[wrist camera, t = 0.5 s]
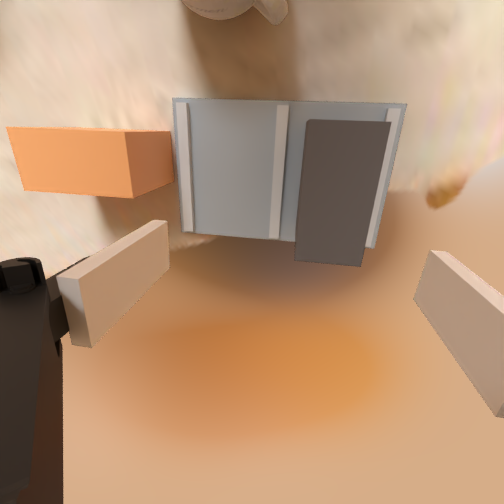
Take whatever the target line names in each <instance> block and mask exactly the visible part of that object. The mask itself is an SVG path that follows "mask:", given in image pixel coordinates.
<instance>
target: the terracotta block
mask: <svg viewBox="0 0 504 504" xmlns="http://www.w3.org/2000/svg"><path fill="white" fill-rule="evenodd" d="M6 129H7V133H8V136H9V139H10V143H11V146H12V150H13V153H14V157H15V160H16V164H17V167H18V170H19V174H20V177H21V181H22V184H23V188H24V190H25V191H38V192H52V193H66V194H79V195H93V196H107V197H120V198H136V197H138V196H140V195H143V194H145V193H148V192H150V191H152V190H155V189H157V188H159V187H162V186H164V185H167V184H169V183H171V182H174V175H173V162H172V149H171V135H170V131H154V130H129V129H105V128H81V127H6Z"/></svg>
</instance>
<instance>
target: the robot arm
mask: <svg viewBox="0 0 504 504" xmlns="http://www.w3.org/2000/svg"><path fill="white" fill-rule="evenodd" d="M169 268H170V257H169V238H168V221H163V220H152V221H150V222H149V223H147V224H145V225H144V226H142V227H140V228H138V229H137V230H135V231H133V232H132V233H130V234H128V235H126V236H125V237H123V238H121V239H119V240H118V241H116V242H114V243H113V244H111V245H109V246H107V247H106V248H104V249H102V250H100V251H99V252H97V253H95V254H94V255H92V256H89V257H86V258H83V259H81V260H80V261H78V262H76V263H75V265H74V264H73V265H71V266H69V267H67V269H64V270H62V271H60V272H59V273H57V274H55V275H53V276H52V277H50V278H48V279H45V276H44V272H43V268H42V264H41V261H40V260H39V259H37V258H30V257H25V258H15V259H10V260H6V261H2V262H0V504H63V374H62V373H63V371H62V370H63V369H62V368H63V367H62V366H63V364H62V344H61V339H60V338H61V337H63V336H64V335H65V334H66V333H67V332H68V331H69V334H70V338H71V342H72V345H77V346H83V347H89V348H92V347H93V346H94V345H95V344H96V343H97V342H98V341H99V340H100V339H101V338H102V337H103V336H104V335H105V334H106V333H107V332H108V331H109V330H110V329H111V328H112V327H113V326H114V325H115V324H116V323H117V322H118V321H119V320H120V319H121V318H122V317H123V316H124V314H126V313H127V311H128V310H129V309H130V308H131V307H132V306H133V305H134V304H135V303H136V302H137V301H138V300H139V299H140V298H141V297H142V296H143V295H144V294H145V293H146V292H147V291H148V290H149V289H150V288H151V287H152V286H153V285H154V284H155V283H156V282H157V281H158V280H159V279H160V278H161V276H163V275H164V273H165V272H166V271H167V270H168V269H169ZM413 300H414V301H415V302H416V304H417V305H418V307H419V308H420V310H421V311H422V312H423V314H424V315H425V317H426V318H427V320H428V321H429V322H430V324H431V325H432V327H433V328H434V329H435V331H436V332H437V334H438V335H439V337H440V338H441V339H442V341H443V342H444V344H445V345H446V347H447V348H448V350H449V351H450V352H451V354H452V355H453V357H454V358H455V360H456V361H457V362H458V364H459V365H460V367H461V368H462V370H463V371H464V372H465V374H466V375H467V377H468V378H469V380H470V381H471V383H472V384H473V385H474V387H475V388H476V390H477V391H478V392H479V394H480V395H481V397H482V398H483V400H484V401H485V403H486V404H487V405H488V407H489V408H490V410H491V411H492V413H493V414H494V415H495V416H496V417H501V418H504V296H503V295H502V294H500V293H499V292H498V291H496V290H495V289H494V288H493V287H491V286H490V285H489V284H487V283H486V282H485V281H484V280H482V279H481V278H480V277H479V276H477V275H476V274H475V273H473V272H472V271H471V270H470V269H468V268H467V267H466V266H465V265H463V264H462V263H461V262H459V261H458V260H457V259H455V258H454V257H453V256H452V255H451V254H449V253H448V252H445V251H436V250H430V251H429V254H428V257H427V260H426V263H425V266H424V269H423V272H422V275H421V277H420V280H419V284H418V287H417V289H416V292H415V295H414V298H413Z"/></svg>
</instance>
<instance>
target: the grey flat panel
mask: <svg viewBox="0 0 504 504" xmlns="http://www.w3.org/2000/svg"><path fill="white" fill-rule="evenodd" d="M172 101H173V116H174V130H175V144H176V159H177V173H178V187H179V202H180V216H181V230H182V232H187V233H199V234H210V235H222V236H234V237H245V238H258V239H268V240H280V241H291V242H295V227H296V217H297V207H298V198H299V188H300V178H301V168H302V158H303V149H304V139H305V129H306V122H307V121H308V120H309V119H324V120H354V121H384V122H392V123H391V127H390V132H389V137H388V141H387V146H386V151H385V155H384V160H383V165H382V170H381V174H380V179H379V184H378V188H377V193H376V198H375V202H374V207H373V212H372V217H371V221H370V226H369V231H368V235H367V240H366V245H365V248H372V249H374V247H375V243H376V238H377V234H378V230H379V225H380V221H381V216H382V212H383V208H384V203H385V198H386V194H387V190H388V186H389V181H390V177H391V173H392V168H393V164H394V159H395V155H396V151H397V146H398V142H399V137H400V133H401V129H402V124H403V120H404V115H405V111H406V107H407V104H396V103H358V102H319V101H280V100H241V99H202V98H172Z"/></svg>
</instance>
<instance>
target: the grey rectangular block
mask: <svg viewBox="0 0 504 504" xmlns="http://www.w3.org/2000/svg"><path fill="white" fill-rule="evenodd" d="M391 123H392V122H384V121H354V120H324V119H309V120H308V121H307V122H306V129H305V139H304V149H303V158H302V168H301V178H300V188H299V198H298V207H297V217H296V227H295V259H294V260H295V261H305V262H316V263H327V264H337V265H348V266H358V267H361V263H362V259H363V254H364V249H365V245H366V240H367V235H368V231H369V226H370V221H371V217H372V212H373V207H374V202H375V198H376V193H377V188H378V184H379V179H380V174H381V170H382V165H383V160H384V155H385V151H386V146H387V141H388V137H389V132H390V127H391Z"/></svg>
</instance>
